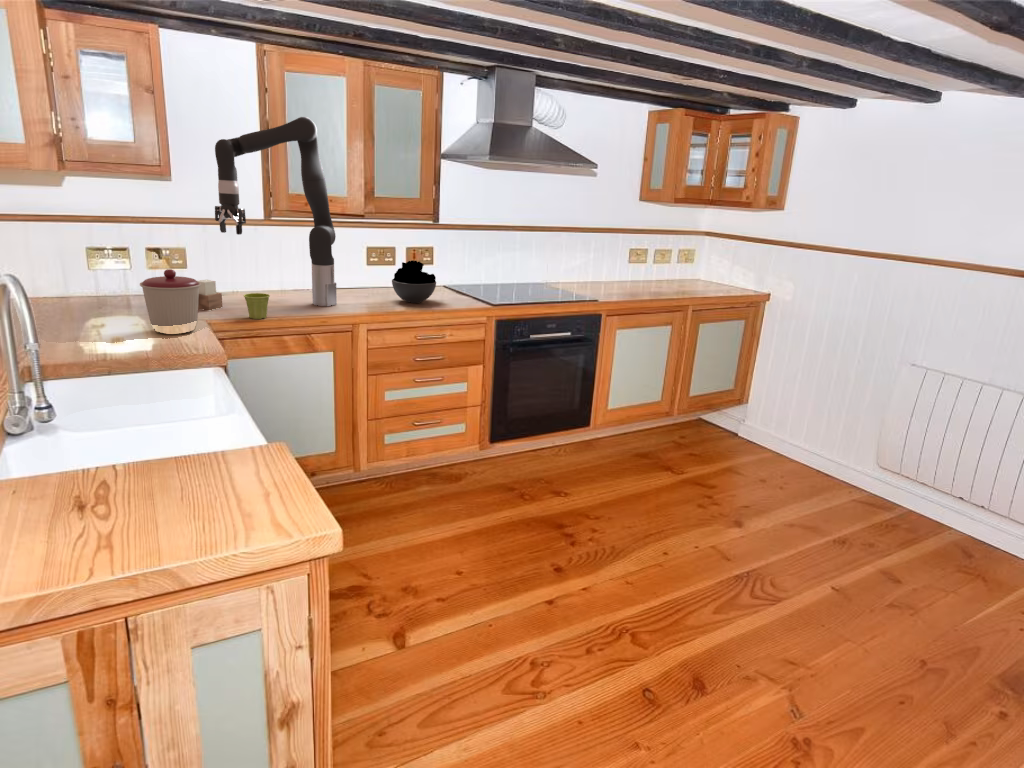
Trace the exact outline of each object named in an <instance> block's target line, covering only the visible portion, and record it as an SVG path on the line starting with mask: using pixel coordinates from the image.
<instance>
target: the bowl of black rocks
mask: <svg viewBox="0 0 1024 768" xmlns="http://www.w3.org/2000/svg"><path fill="white" fill-rule="evenodd" d="M424 265H425V264H424V263H422V262H421V261H420V260H419V261H417V260H408V261H407V262H403V261H402V262H401V267H399V268H398V269H397V270H396V272H395V273H394V275H393V279H391V285H392V288H393V290H394V293H396V295H397V296H398V297H399V298H400V299H401V300H402V301H405V302H408V303H410V302H411V304H417V303H422V302H425V301H426V300H428V299H429V298H430V297H431V296H432V295H433V293H434V292H435V289H436V288H437V287H436V286H437V281H436V276H435V273H431V274H429V273H428V272H425V271H423V268H424Z"/></svg>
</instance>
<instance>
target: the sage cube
mask: <svg viewBox="0 0 1024 768" xmlns="http://www.w3.org/2000/svg"><path fill="white" fill-rule="evenodd" d="M197 281H198V282H200V283H201V285H200V286H199V294H202V295H211V294H216V293H217V284H216V281H215V280H212V279H201V280H199V279H198V280H197Z"/></svg>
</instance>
